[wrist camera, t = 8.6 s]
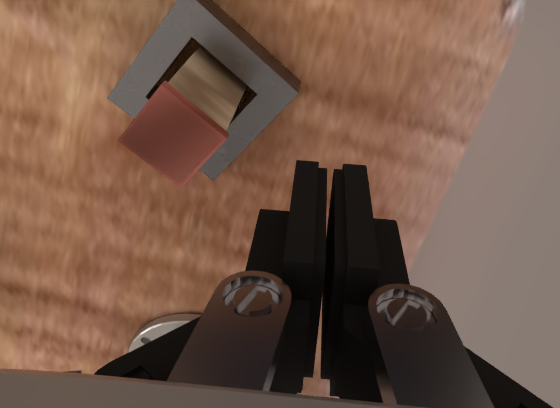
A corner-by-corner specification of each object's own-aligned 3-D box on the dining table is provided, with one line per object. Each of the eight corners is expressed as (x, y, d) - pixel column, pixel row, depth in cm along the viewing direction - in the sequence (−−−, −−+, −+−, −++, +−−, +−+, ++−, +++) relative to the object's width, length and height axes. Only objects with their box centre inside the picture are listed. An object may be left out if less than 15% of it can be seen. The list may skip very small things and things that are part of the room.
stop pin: (251, 82, 30) (227, 138, 23) (214, 124, 32) (181, 188, 25) (202, 39, 29) (160, 84, 22) (165, 85, 30) (117, 140, 24)
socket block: (300, 81, 29) (298, 93, 28) (219, 166, 33) (213, 180, 31) (194, -16, 27) (184, -10, 25) (119, 86, 31) (107, 97, 29)
